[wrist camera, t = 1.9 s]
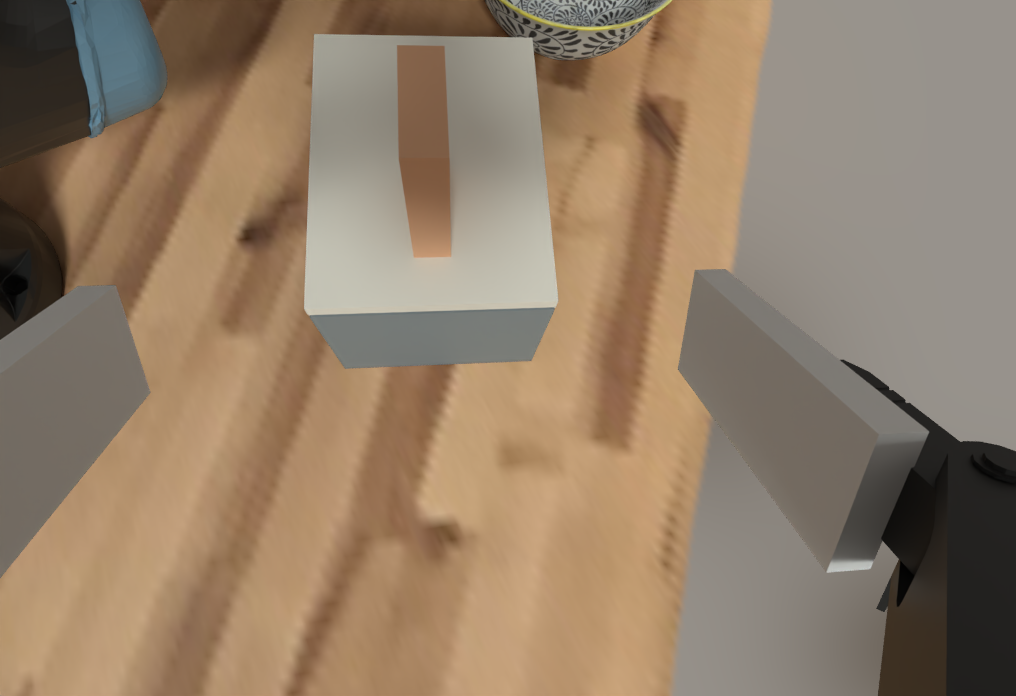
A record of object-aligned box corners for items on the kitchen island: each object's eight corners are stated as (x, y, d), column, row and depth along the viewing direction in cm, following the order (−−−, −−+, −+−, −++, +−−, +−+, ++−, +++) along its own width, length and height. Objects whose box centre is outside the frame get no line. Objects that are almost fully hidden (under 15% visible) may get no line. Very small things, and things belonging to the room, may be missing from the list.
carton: (348, 153, 42) (318, 49, 33) (514, 152, 43) (529, 52, 34) (345, 368, 37) (309, 317, 28) (531, 360, 38) (554, 309, 29)
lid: (317, 45, 32) (269, -122, 24) (530, 48, 34) (555, -110, 25) (308, 315, 28) (245, 223, 19) (555, 307, 29) (596, 217, 21)
